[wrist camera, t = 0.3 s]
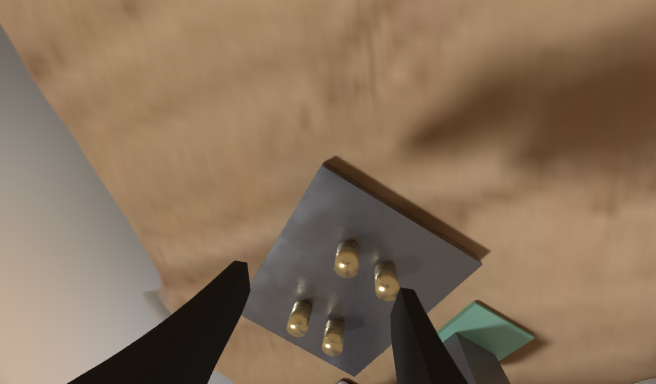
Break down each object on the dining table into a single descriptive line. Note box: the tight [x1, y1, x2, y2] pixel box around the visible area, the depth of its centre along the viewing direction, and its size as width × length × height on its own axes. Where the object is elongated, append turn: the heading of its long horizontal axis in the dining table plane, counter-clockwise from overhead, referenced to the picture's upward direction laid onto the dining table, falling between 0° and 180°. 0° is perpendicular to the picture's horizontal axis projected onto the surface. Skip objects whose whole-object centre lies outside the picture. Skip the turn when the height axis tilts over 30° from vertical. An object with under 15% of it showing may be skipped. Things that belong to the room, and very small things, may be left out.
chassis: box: [241, 162, 482, 377], centre depth 22 cm, size 20×16×4 cm
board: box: [437, 301, 534, 384], centre depth 23 cm, size 12×7×6 cm, turn 150°
